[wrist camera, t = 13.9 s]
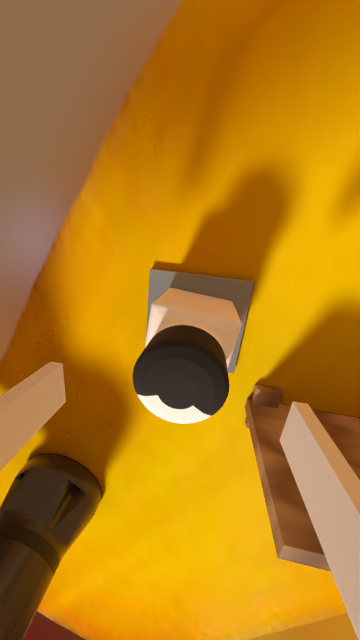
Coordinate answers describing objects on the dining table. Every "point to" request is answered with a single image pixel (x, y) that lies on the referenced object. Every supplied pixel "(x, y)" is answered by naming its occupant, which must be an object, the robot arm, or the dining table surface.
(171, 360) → the medicine bottle
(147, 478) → the dining table surface
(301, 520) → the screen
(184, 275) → the coaster
